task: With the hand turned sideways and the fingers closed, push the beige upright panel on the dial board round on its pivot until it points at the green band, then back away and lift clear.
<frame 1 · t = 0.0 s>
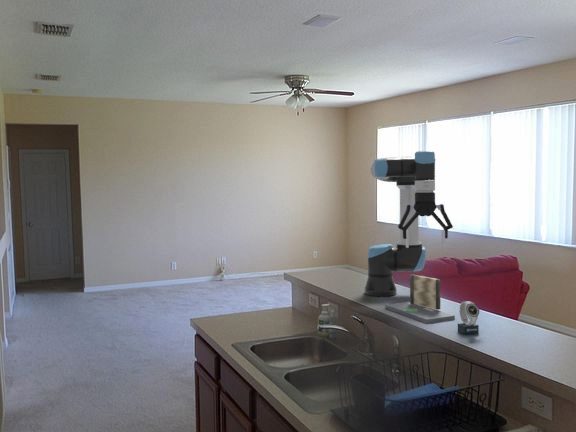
hand: (425, 247, 208), 28 cm above the worktop, tool pointing down, fingers open, 13 cm apart
watch: (468, 333, 190), on the worktop
dial board: (418, 313, 219), on the worktop
beige upright panel: (424, 291, 223), point 8 cm above the worktop, hinge at 0.0°
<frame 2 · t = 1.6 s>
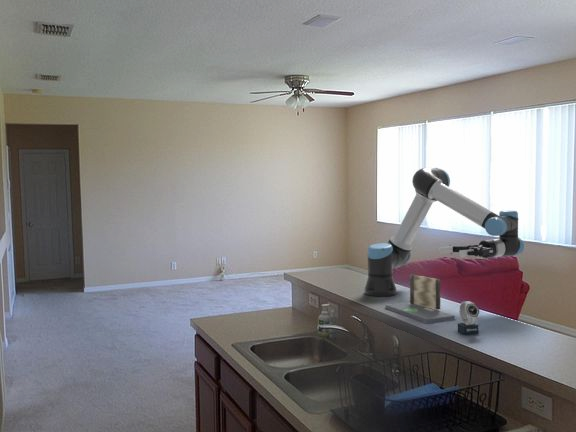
hand: (449, 252, 221), 24 cm above the worktop, tool horizontal, fingers open, 12 cm apart
nothing on the worktop moved.
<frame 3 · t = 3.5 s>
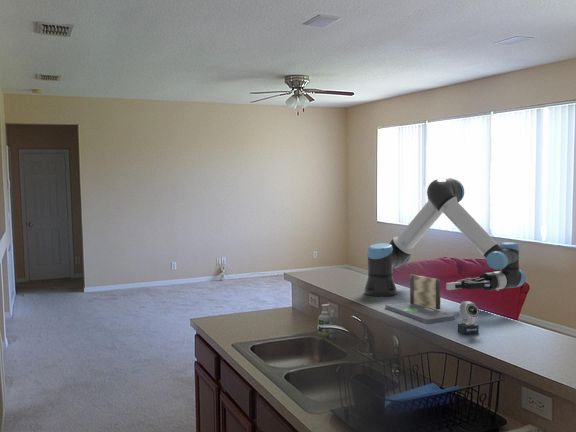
hand: (447, 286, 221), 10 cm above the worktop, tool horizontal, fingers closed
nothing on the worktop moved.
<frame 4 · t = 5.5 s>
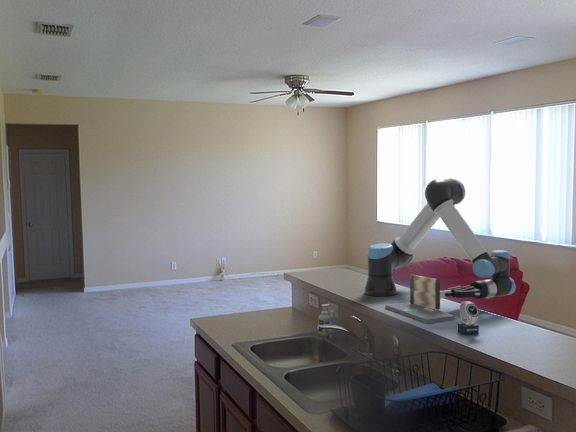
hand: (437, 295, 218), 7 cm above the worktop, tool horizontal, fingers closed
beige upright panel: (424, 291, 223), point 8 cm above the worktop, hinge at -0.9°, touching gripper
everything else where it was.
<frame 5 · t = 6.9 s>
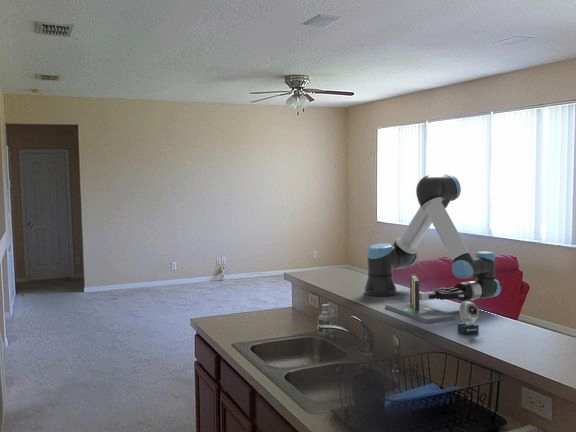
hand: (420, 296, 216), 7 cm above the worktop, tool horizontal, fingers closed
beige upright panel: (414, 292, 222), point 8 cm above the worktop, hinge at -39.6°, touching gripper
everything else where it was.
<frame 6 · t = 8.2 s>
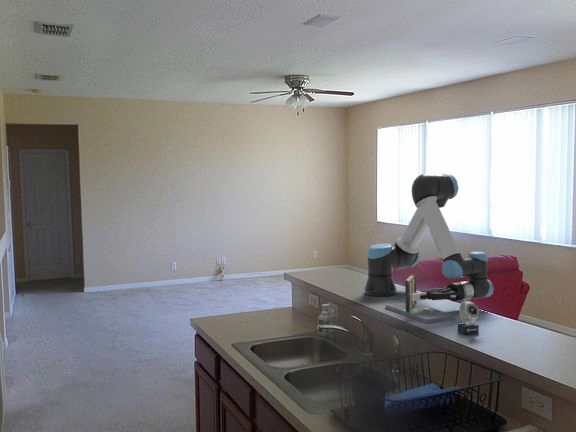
hand: (411, 297, 215), 7 cm above the worktop, tool horizontal, fingers closed
beige upright panel: (410, 292, 222), point 8 cm above the worktop, hinge at -55.1°
everything else where it was.
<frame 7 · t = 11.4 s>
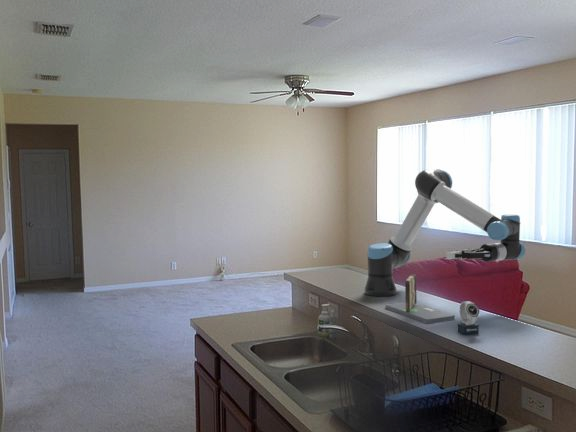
hand: (447, 255, 220), 23 cm above the worktop, tool horizontal, fingers closed
nothing on the worktop moved.
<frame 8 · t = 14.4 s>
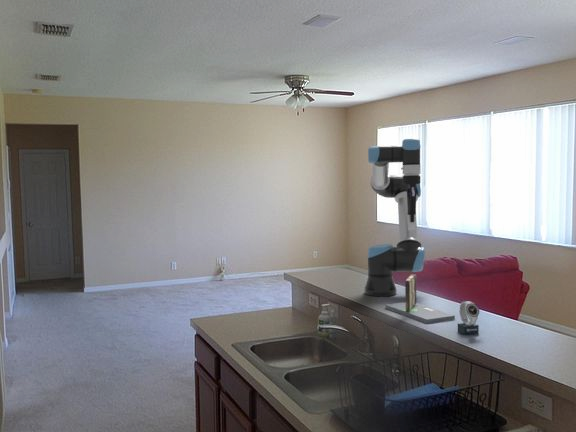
hand: (411, 229, 235), 32 cm above the worktop, tool pointing down, fingers closed
nothing on the worktop moved.
at the end: beige upright panel at -55° (first picture: +0°); watch moved 0.2 cm from its start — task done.
